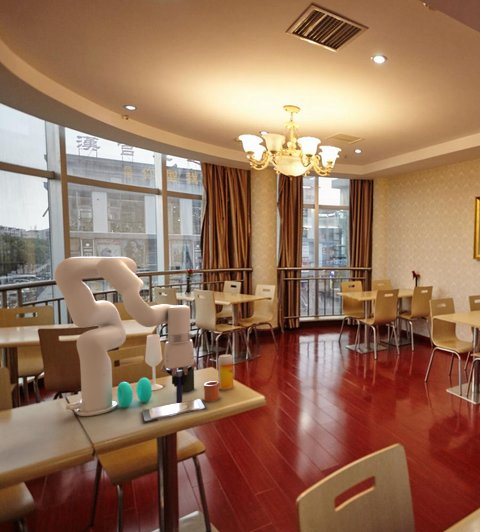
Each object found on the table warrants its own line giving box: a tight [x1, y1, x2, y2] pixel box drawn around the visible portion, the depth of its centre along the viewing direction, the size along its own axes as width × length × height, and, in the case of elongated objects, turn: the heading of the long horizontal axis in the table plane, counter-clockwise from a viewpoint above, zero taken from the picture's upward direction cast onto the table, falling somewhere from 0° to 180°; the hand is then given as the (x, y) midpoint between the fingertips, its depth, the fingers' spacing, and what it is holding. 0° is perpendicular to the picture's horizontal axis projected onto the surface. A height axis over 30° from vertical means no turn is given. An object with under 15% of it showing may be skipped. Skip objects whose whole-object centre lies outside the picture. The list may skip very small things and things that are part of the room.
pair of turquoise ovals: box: [116, 377, 153, 409], centre depth 157 cm, size 10×10×10 cm
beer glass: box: [217, 353, 234, 391], centre depth 176 cm, size 6×6×15 cm
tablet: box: [142, 398, 206, 424], centre depth 151 cm, size 20×12×1 cm, turn 127°
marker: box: [175, 369, 183, 404], centre depth 151 cm, size 2×2×12 cm
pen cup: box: [203, 380, 220, 402], centre depth 162 cm, size 5×5×7 cm
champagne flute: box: [144, 333, 164, 391], centre depth 176 cm, size 7×7×24 cm
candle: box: [177, 367, 195, 394], centre depth 171 cm, size 5×5×25 cm
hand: (179, 384), depth 151 cm, fingers closed on marker, 2 cm apart
